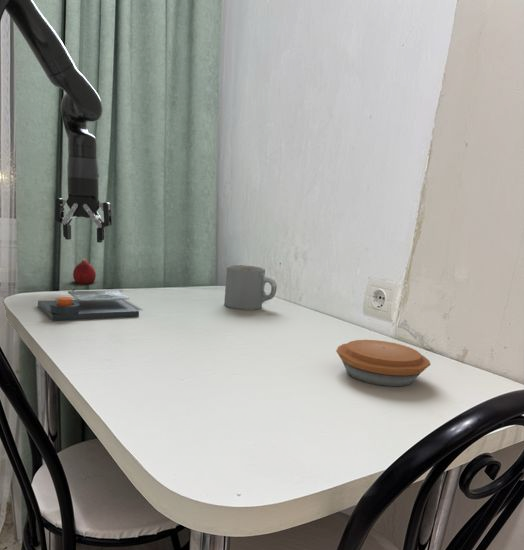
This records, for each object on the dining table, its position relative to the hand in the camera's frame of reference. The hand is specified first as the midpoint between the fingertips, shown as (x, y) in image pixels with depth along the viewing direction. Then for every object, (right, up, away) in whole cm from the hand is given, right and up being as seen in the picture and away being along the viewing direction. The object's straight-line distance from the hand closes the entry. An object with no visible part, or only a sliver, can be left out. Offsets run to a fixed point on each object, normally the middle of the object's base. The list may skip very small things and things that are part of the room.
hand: (84, 240), depth 134 cm
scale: (+9, -21, -23) cm, 32 cm away
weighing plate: (+10, -17, -20) cm, 28 cm away
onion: (-1, -12, +3) cm, 13 cm away
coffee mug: (+44, -18, -1) cm, 47 cm away
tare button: (+7, -20, -30) cm, 37 cm away
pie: (+67, -33, -48) cm, 89 cm away
